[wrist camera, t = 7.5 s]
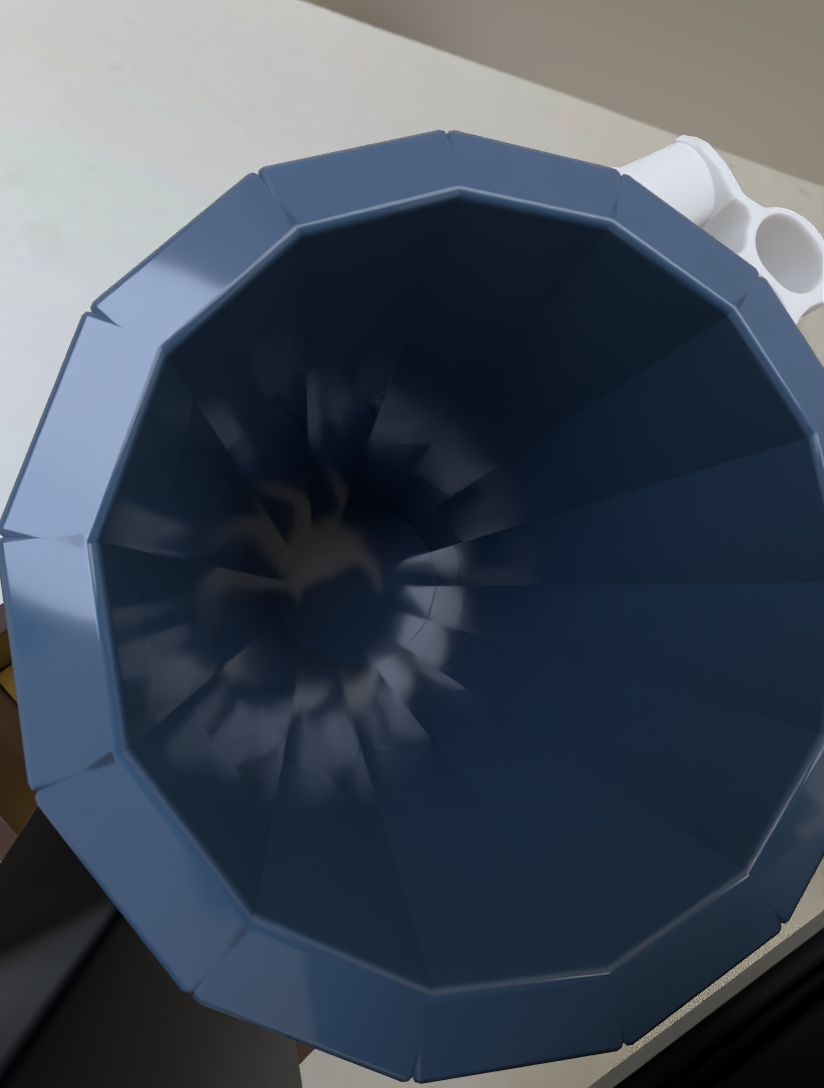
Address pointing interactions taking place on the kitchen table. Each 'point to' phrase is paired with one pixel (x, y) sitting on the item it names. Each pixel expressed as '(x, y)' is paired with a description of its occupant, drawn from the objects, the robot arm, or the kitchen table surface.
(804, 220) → the knuckle duster
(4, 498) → the kitchen table surface
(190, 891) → the tumbler
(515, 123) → the kitchen table surface
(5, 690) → the caddy
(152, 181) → the kitchen table surface
